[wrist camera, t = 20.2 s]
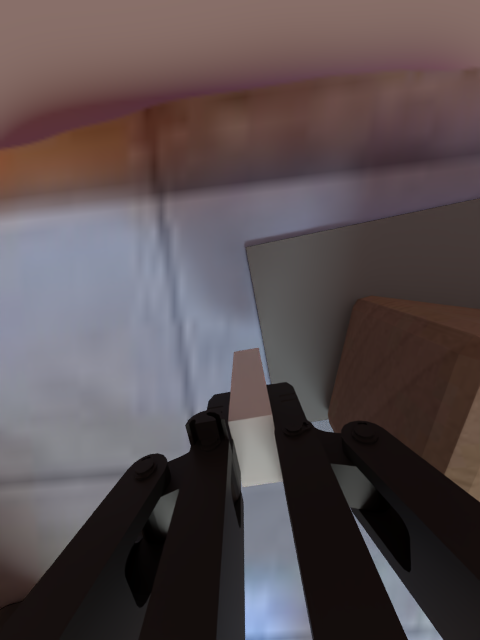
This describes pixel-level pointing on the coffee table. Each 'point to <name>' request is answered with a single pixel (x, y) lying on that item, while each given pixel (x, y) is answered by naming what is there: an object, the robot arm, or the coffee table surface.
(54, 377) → the coffee table surface
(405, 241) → the mat
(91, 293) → the coffee table surface
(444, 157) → the coffee table surface
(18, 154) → the coffee table surface
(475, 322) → the block
